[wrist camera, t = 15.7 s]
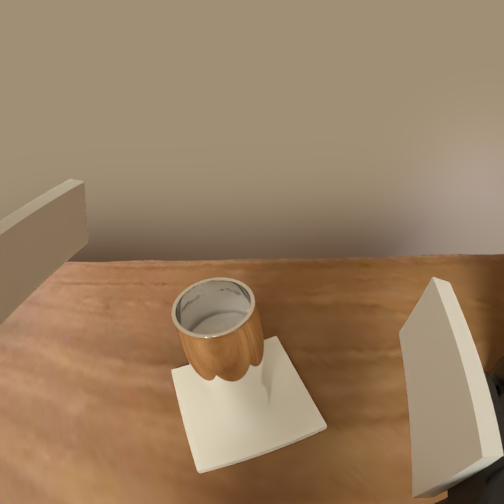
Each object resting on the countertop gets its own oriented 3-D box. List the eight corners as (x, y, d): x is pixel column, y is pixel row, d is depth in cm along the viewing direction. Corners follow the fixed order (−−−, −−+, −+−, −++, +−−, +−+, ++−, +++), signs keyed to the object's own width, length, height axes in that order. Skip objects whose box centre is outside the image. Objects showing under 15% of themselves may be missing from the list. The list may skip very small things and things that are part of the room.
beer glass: (285, 403, 31) (276, 308, 23) (231, 437, 28) (191, 355, 20) (250, 363, 36) (228, 264, 28) (200, 392, 33) (156, 299, 25)
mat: (276, 340, 40) (276, 335, 39) (326, 428, 29) (327, 425, 28) (173, 374, 37) (171, 369, 36) (199, 473, 26) (197, 471, 25)
